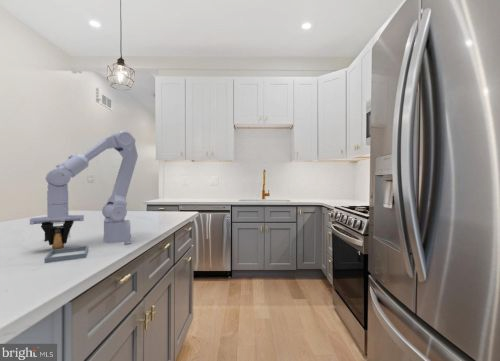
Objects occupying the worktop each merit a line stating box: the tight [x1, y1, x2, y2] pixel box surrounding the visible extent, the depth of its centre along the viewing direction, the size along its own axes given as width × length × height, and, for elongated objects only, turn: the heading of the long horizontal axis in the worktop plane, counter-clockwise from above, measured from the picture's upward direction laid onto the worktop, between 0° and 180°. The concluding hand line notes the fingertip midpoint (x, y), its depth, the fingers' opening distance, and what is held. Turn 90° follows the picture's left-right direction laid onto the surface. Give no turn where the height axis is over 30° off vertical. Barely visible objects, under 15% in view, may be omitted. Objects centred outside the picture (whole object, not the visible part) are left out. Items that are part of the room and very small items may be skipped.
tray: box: [44, 245, 89, 264], centre depth 79 cm, size 10×10×2 cm
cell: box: [51, 226, 65, 250], centre depth 86 cm, size 3×3×8 cm
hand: (58, 243), depth 86 cm, fingers closed on cell, 3 cm apart
